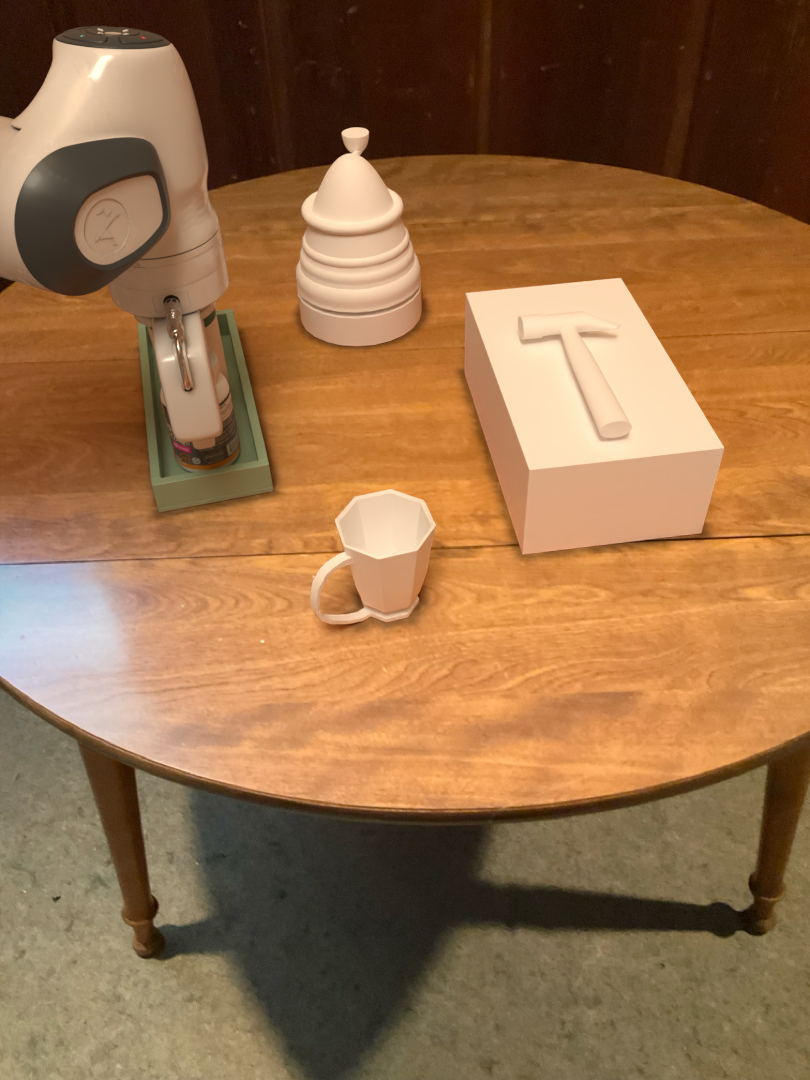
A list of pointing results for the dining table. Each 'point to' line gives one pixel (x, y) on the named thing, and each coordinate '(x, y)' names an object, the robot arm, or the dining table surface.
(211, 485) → the bottle tray
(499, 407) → the hammer embossed box
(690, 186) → the dining table surface
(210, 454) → the pill bottle
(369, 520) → the cup
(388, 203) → the honey pot
